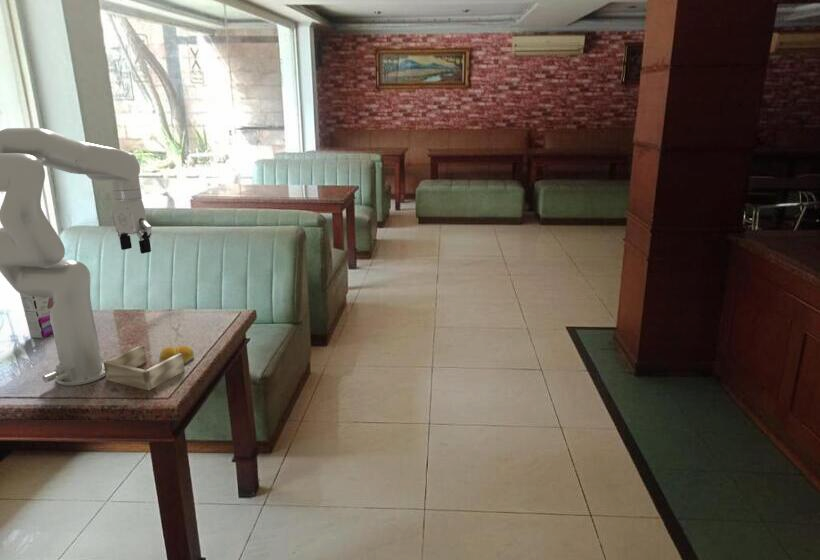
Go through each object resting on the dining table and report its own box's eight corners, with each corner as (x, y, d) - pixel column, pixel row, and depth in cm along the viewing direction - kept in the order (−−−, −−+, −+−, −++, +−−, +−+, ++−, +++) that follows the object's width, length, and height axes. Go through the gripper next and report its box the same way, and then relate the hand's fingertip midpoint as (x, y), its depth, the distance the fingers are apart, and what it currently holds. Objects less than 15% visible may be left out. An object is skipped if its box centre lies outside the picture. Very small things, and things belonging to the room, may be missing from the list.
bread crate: (148, 390, 145) (145, 372, 143) (106, 379, 151) (103, 362, 149) (184, 370, 155) (182, 353, 154) (144, 361, 161) (141, 344, 160)
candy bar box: (56, 325, 189) (46, 277, 184) (69, 325, 188) (59, 277, 183) (29, 338, 178) (17, 287, 173) (43, 339, 177) (32, 288, 173)
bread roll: (194, 363, 160) (192, 350, 159) (159, 368, 157) (157, 354, 156) (194, 351, 167) (193, 338, 166) (161, 356, 165) (159, 343, 164)
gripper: (98, 194, 174) (108, 250, 179) (133, 198, 165) (142, 256, 170) (122, 191, 180) (130, 245, 185) (156, 195, 171) (164, 251, 176)
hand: (136, 250), depth 177 cm, fingers open, 9 cm apart
